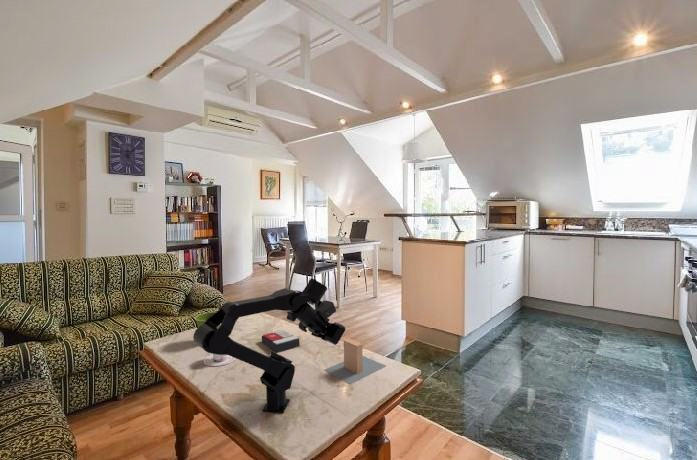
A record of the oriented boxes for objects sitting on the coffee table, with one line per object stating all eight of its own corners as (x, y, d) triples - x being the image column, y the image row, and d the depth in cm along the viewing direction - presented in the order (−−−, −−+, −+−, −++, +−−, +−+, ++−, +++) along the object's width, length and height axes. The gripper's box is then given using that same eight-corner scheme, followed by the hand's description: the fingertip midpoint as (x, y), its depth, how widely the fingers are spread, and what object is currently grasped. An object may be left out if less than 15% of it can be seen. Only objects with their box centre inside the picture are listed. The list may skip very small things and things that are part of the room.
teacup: (222, 369, 127) (222, 352, 126) (196, 364, 130) (195, 348, 130) (242, 355, 138) (241, 340, 138) (217, 351, 142) (217, 337, 141)
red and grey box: (283, 328, 158) (299, 336, 146) (284, 338, 158) (300, 346, 146) (261, 334, 151) (275, 343, 139) (261, 344, 151) (276, 353, 139)
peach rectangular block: (357, 373, 121) (357, 346, 120) (344, 366, 126) (343, 340, 125) (362, 370, 123) (362, 343, 122) (349, 364, 128) (349, 338, 127)
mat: (350, 385, 114) (350, 384, 114) (323, 370, 124) (323, 369, 124) (386, 367, 126) (386, 366, 126) (359, 355, 137) (359, 354, 137)
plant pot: (191, 340, 154) (190, 315, 153) (217, 333, 162) (217, 310, 161) (200, 348, 145) (199, 322, 144) (228, 340, 153) (227, 316, 152)
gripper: (340, 300, 106) (365, 326, 114) (304, 290, 120) (329, 314, 128) (321, 332, 101) (348, 356, 109) (286, 317, 115) (313, 340, 123)
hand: (334, 340), depth 118 cm, fingers closed
